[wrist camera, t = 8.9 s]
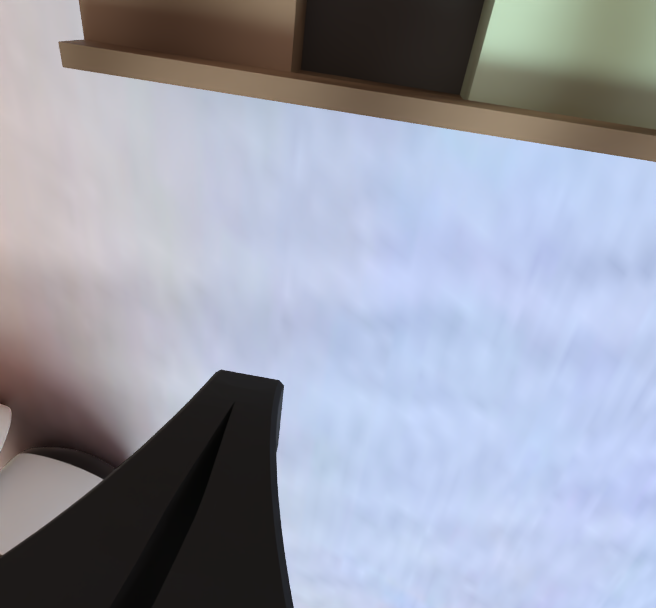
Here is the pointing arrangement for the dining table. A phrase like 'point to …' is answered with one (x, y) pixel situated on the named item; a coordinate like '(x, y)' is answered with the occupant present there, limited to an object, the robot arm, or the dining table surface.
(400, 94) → the brown shallow open box
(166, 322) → the dining table surface
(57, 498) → the spread jar
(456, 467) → the dining table surface
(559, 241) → the dining table surface
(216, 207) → the dining table surface
